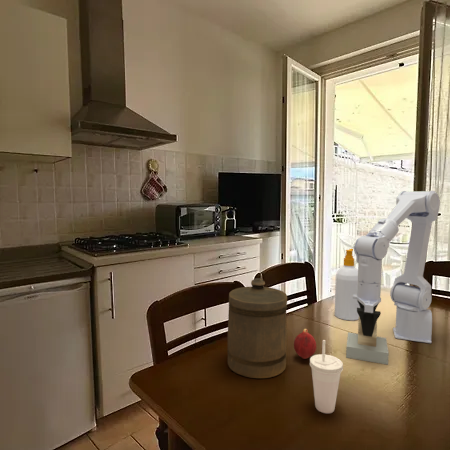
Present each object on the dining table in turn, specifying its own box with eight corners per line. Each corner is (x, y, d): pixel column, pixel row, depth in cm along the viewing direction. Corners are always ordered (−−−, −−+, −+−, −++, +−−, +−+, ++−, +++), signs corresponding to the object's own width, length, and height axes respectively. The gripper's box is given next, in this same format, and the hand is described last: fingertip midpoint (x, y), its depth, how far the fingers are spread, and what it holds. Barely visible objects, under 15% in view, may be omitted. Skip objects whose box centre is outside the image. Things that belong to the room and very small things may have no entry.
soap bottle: (362, 314, 121) (365, 249, 119) (357, 322, 113) (359, 252, 111) (338, 310, 126) (340, 247, 124) (331, 317, 118) (333, 250, 116)
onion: (316, 365, 84) (317, 334, 84) (293, 363, 86) (294, 332, 85) (315, 354, 90) (316, 326, 89) (293, 352, 91) (294, 324, 91)
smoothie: (304, 398, 71) (305, 334, 69) (333, 397, 71) (335, 333, 70) (315, 418, 64) (316, 348, 63) (347, 416, 65) (349, 346, 64)
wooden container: (290, 355, 90) (291, 274, 88) (280, 384, 76) (282, 289, 74) (237, 347, 95) (237, 270, 93) (219, 372, 81) (219, 283, 79)
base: (385, 348, 94) (386, 337, 94) (388, 364, 85) (388, 353, 85) (347, 342, 98) (348, 332, 98) (346, 357, 89) (346, 346, 88)
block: (375, 340, 92) (376, 318, 92) (376, 346, 88) (377, 324, 88) (357, 337, 94) (358, 316, 94) (357, 344, 90) (358, 322, 89)
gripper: (353, 273, 98) (352, 319, 99) (352, 286, 85) (350, 338, 86) (380, 276, 95) (378, 322, 96) (383, 289, 82) (381, 342, 83)
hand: (367, 330), depth 91 cm, fingers open, 7 cm apart
